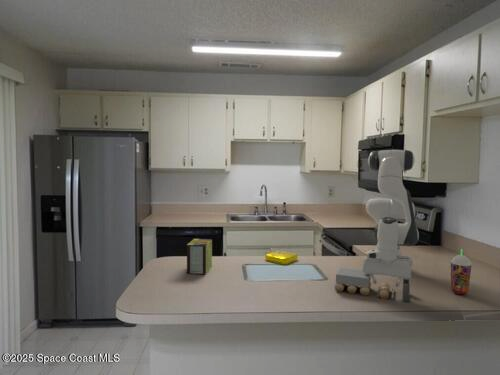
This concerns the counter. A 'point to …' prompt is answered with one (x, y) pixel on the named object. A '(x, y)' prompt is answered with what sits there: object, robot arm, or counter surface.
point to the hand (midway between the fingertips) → (385, 284)
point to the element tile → (281, 257)
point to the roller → (384, 290)
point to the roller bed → (363, 290)
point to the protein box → (199, 256)
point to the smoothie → (460, 274)
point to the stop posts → (406, 289)
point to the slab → (353, 277)
